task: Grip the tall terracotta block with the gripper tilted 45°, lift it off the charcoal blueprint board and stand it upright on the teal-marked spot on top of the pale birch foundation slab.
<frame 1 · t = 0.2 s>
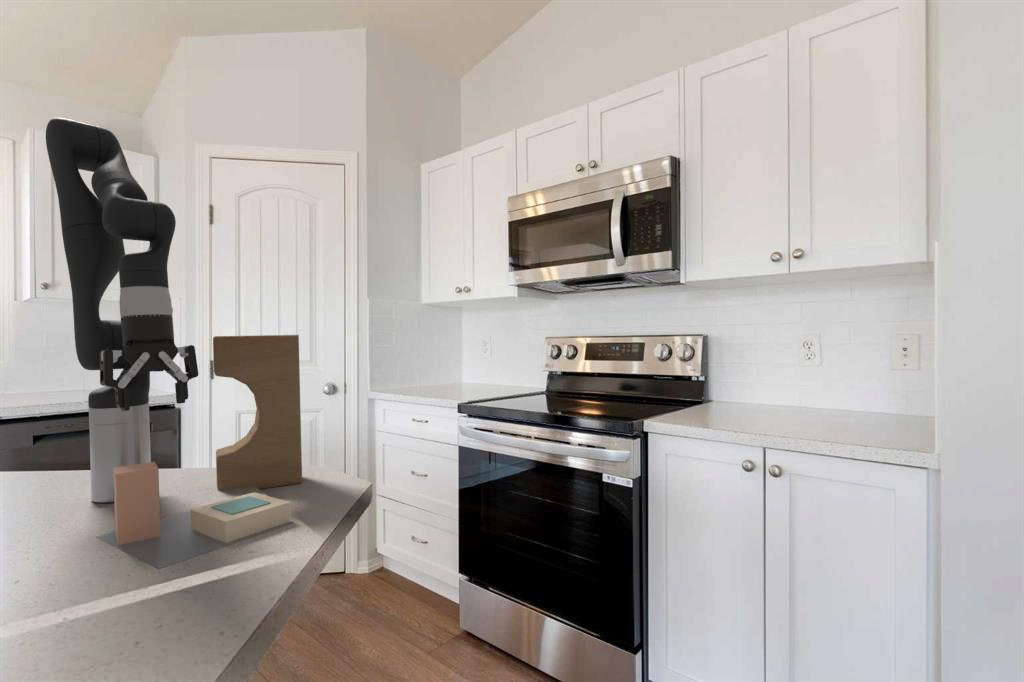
hand: (153, 406, 94), 18 cm above the countertop, tool pointing down, fingers open, 8 cm apart
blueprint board: (197, 536, 81), on the countertop
decorative block: (259, 485, 108), on the countertop
terracotta block: (137, 535, 78), point 1 cm above the countertop, touching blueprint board
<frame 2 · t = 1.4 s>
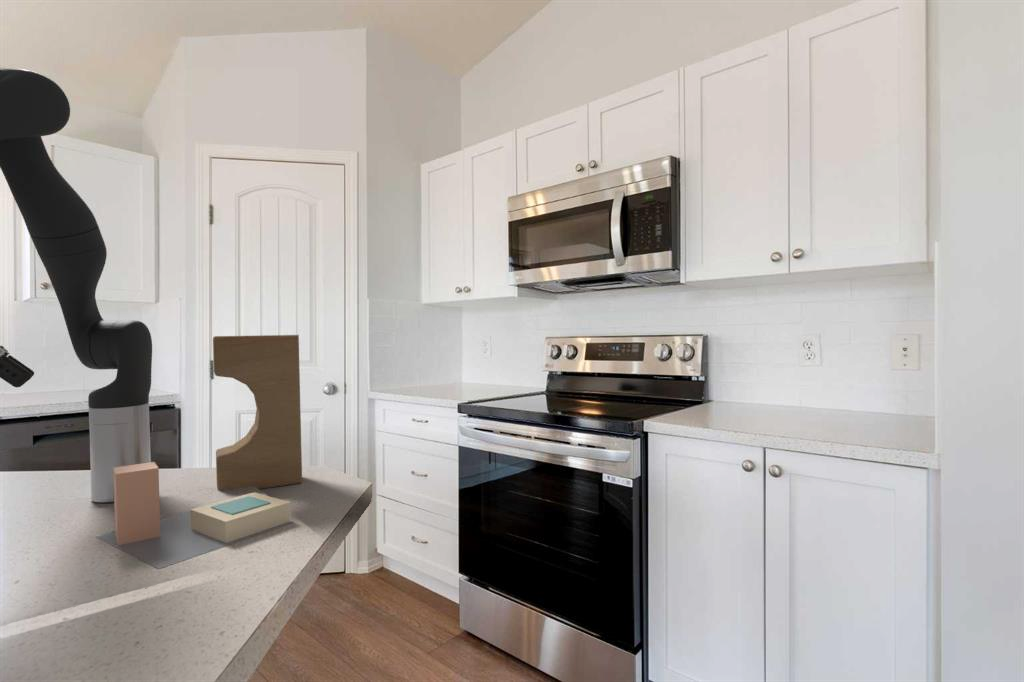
hand: (27, 380, 71), 25 cm above the countertop, tool tilted 45°, fingers open, 8 cm apart
nothing on the countertop moved.
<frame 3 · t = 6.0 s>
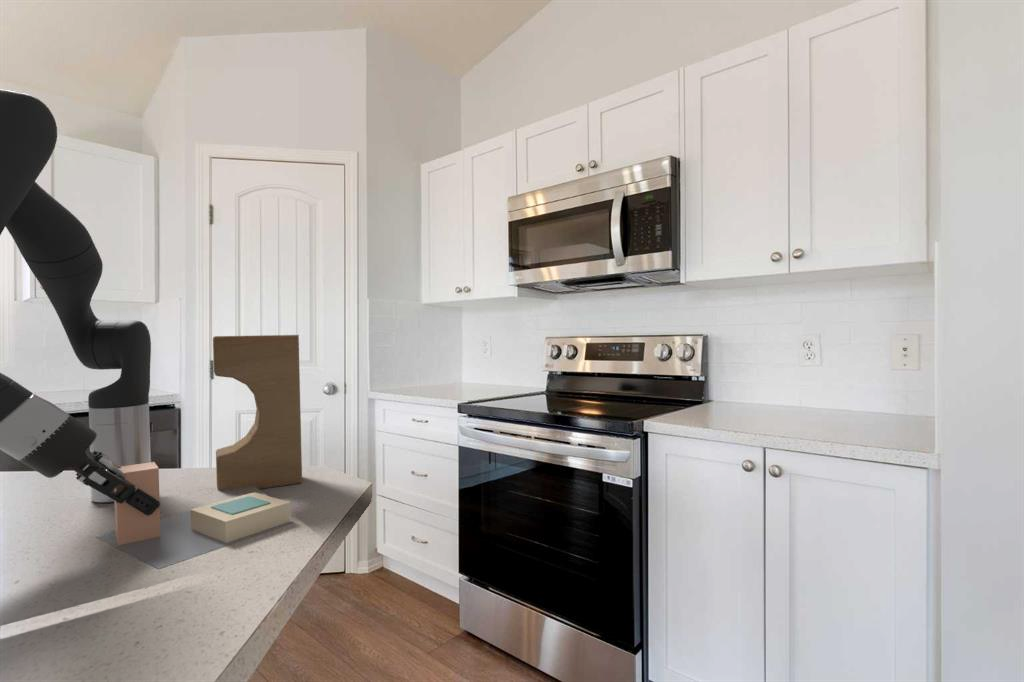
hand: (152, 504, 80), 5 cm above the countertop, tool tilted 45°, fingers closed on terracotta block, 5 cm apart
terracotta block: (137, 535, 78), point 1 cm above the countertop, touching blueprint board, gripper
everything else where it was.
when the fingers open (10 cm above the countertop, at t = 11.6 s): terracotta block drops 1 cm, resting on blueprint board.
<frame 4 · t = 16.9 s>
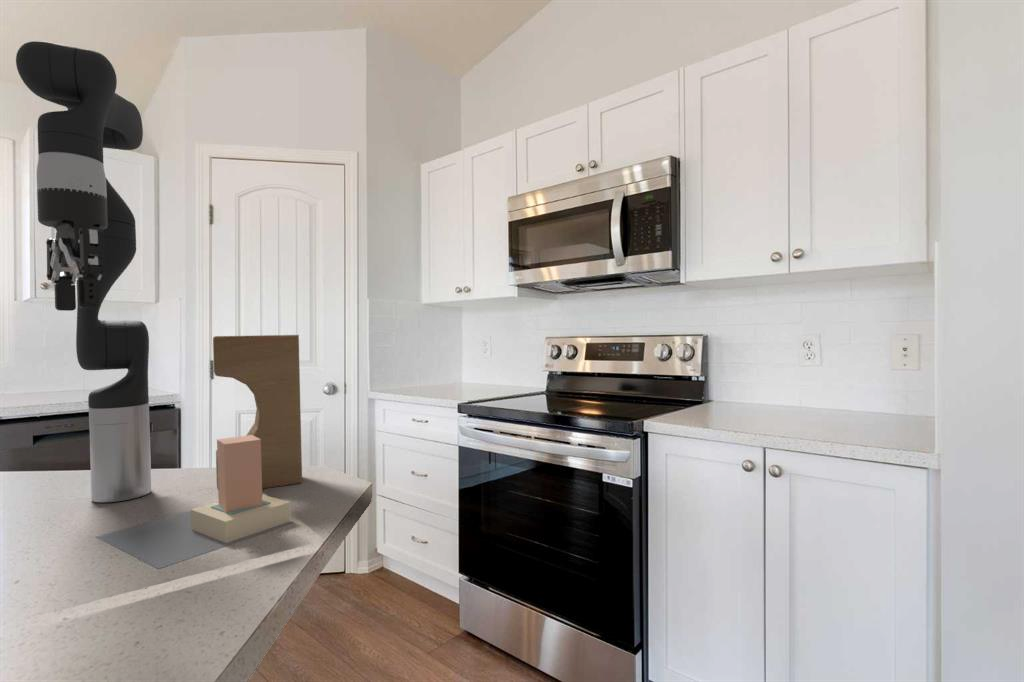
hand: (76, 309, 75), 34 cm above the countertop, tool pointing down, fingers open, 8 cm apart
terracotta block: (240, 504, 82), point 4 cm above the countertop, touching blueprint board
everything else where it was.
at the end: terracotta block 0.1 cm from the target spot on the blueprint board, point 4.2 cm above the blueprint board's base; terracotta block tilted 0°; the gripper is holding nothing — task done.
